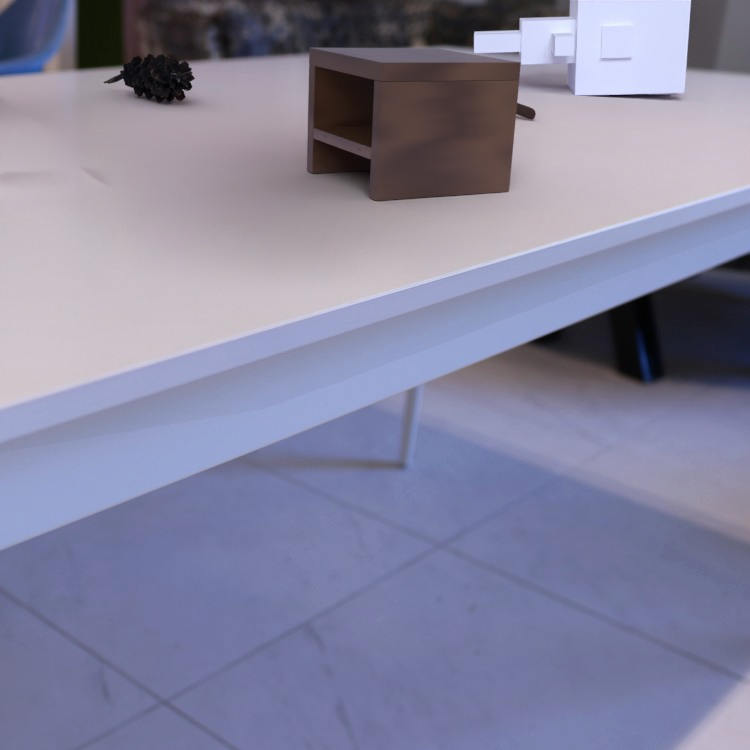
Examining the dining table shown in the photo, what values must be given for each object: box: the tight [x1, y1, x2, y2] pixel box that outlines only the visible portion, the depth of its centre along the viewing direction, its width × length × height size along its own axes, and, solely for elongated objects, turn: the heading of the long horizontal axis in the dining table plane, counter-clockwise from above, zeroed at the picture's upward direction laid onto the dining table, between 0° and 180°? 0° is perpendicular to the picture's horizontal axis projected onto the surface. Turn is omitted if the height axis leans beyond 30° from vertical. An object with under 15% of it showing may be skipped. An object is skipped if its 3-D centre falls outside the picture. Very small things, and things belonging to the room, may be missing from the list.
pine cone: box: [103, 52, 196, 104], centre depth 114 cm, size 18×5×5 cm, turn 39°
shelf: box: [306, 47, 522, 202], centre depth 76 cm, size 11×11×9 cm
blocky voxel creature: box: [473, 0, 692, 97], centre depth 142 cm, size 15×25×28 cm
